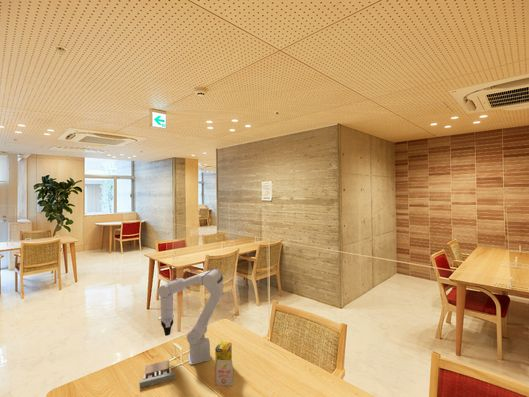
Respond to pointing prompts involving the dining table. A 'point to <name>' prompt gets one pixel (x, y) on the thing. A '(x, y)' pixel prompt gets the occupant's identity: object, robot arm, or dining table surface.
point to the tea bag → (224, 373)
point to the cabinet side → (157, 379)
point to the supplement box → (223, 351)
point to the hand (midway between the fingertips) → (167, 334)
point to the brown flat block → (157, 369)
